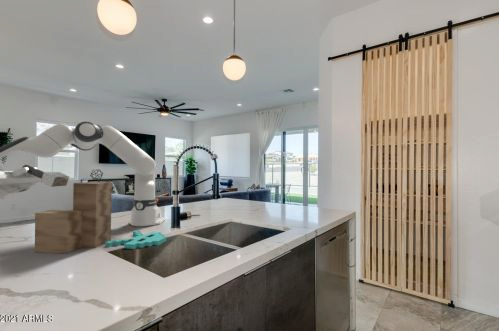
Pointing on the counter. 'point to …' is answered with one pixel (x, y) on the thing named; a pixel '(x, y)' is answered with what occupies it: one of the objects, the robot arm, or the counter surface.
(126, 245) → the alien figure
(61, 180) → the mallet
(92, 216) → the step stand
